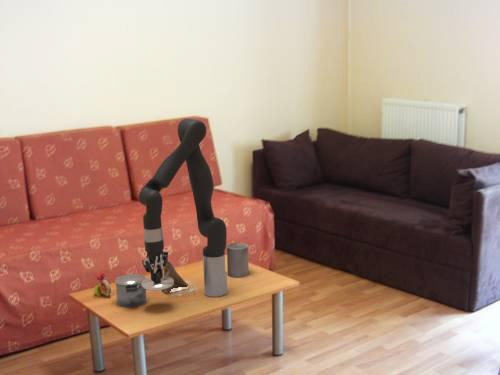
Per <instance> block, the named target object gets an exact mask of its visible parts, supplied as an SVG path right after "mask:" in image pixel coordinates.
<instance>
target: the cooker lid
mask: <svg viewBox="0 0 500 375" xmlns="http://www.w3.org/2000/svg"><path fill="white" fill-rule="evenodd" d="M156 276H157V281H156V282H154V281H152V280H151V276H150V277H146V279H145V280H143V281H142V282H141V287H142V288H143V289H145V290H146V291H153V292H154V291H155V292H156V291H162V290H163V289H167V288H169V287H171V286H173V284H174V280H173V278H171V277H167V276H164V275H163V278H162V279H161V274H160V270H157V269H156Z"/></svg>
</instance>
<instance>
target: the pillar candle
mask: <svg viewBox="0 0 500 375" xmlns="http://www.w3.org/2000/svg"><path fill="white" fill-rule="evenodd" d="M226 255H227V256H226V257H227V258H226V259H227V261H226V264H227V277H228V276H229V277H230V278H234V279H235V278H237V279H240V278H245V277H247V276H249V272H250V271H249V270H250V268H249V245H248V244H247V243H245V242H232V243H229V244H226Z"/></svg>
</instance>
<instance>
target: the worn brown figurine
mask: <svg viewBox="0 0 500 375" xmlns="http://www.w3.org/2000/svg"><path fill="white" fill-rule="evenodd" d="M163 276H167V277H171V278H173V280H174V284H173V286H171V287H169V288H167V289H163V290H161V293H163V294H165V295H170V294H171V293H170V291H171V289H173V288H178V287H187V286H188V285H189V284H188V283H187V282H186V281H185V280H184V278H182V277H181V275H179V273H178V272H177V270H176V268H175V267H174V266H173V264H172V263H171V262H170V261H169V259H168V257H167V262H166V266H165V267H163ZM169 293H170V294H169Z"/></svg>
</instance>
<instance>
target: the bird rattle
mask: <svg viewBox="0 0 500 375" xmlns="http://www.w3.org/2000/svg"><path fill="white" fill-rule="evenodd" d="M105 276H106V274H105V270H103V271H101V273H100V275H97V274H94V277H96V279H97V281H99V282H98V283H99V284H98V285H95V286H94V291H93V295H96V296H97V297H100V296H101V294H103V295H105V296H106V298H109V297H111V292H112V288H111V285H110V283H109V282H108V280H107V279H106V278H105Z"/></svg>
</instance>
